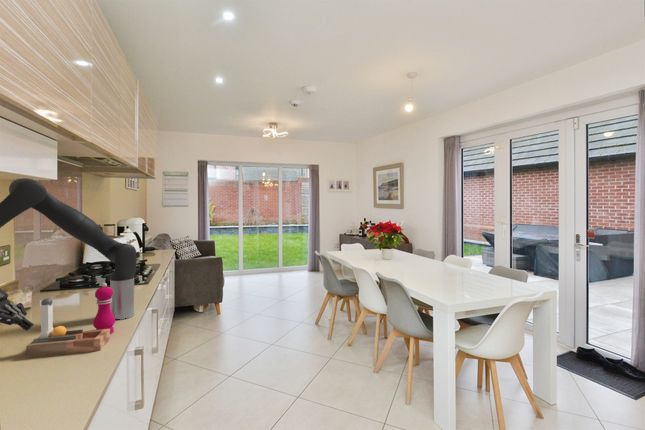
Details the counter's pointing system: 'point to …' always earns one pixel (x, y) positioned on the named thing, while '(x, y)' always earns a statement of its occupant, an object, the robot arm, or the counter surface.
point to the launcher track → (69, 343)
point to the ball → (59, 331)
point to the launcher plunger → (46, 318)
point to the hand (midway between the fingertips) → (30, 327)
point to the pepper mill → (104, 309)
